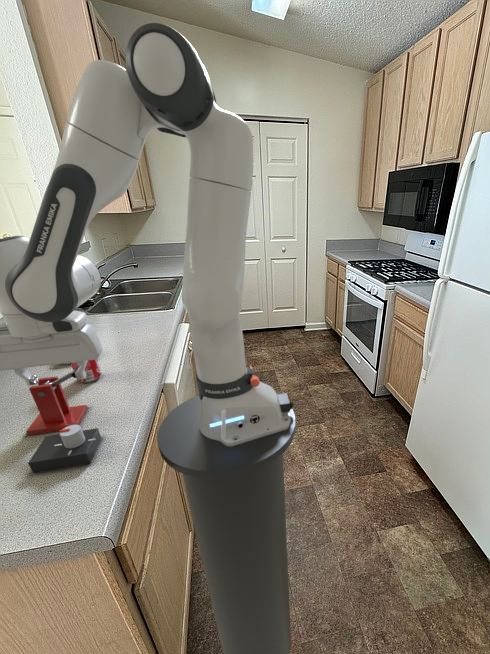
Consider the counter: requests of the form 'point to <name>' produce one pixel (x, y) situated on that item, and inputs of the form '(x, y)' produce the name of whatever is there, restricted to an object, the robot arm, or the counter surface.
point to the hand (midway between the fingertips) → (58, 381)
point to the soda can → (89, 370)
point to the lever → (62, 378)
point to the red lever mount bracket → (53, 408)
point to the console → (64, 452)
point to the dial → (72, 436)
